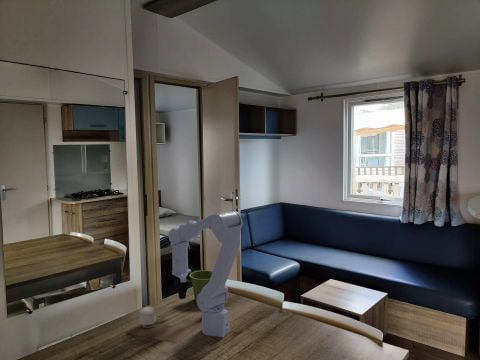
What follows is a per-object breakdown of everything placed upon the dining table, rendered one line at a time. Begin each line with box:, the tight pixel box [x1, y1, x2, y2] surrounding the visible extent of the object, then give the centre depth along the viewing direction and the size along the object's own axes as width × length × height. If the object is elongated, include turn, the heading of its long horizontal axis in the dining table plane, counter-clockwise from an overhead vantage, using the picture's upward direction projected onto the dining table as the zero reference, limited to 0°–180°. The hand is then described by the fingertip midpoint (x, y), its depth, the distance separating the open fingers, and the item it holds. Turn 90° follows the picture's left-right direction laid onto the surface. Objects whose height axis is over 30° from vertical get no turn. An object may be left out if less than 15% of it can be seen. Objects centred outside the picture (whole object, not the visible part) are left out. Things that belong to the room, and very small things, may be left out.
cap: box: [139, 306, 157, 325], centre depth 133 cm, size 6×6×4 cm
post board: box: [126, 322, 192, 345], centre depth 129 cm, size 20×10×6 cm, turn 69°
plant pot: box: [189, 270, 213, 303], centre depth 159 cm, size 12×12×11 cm
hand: (180, 294), depth 141 cm, fingers open, 7 cm apart
